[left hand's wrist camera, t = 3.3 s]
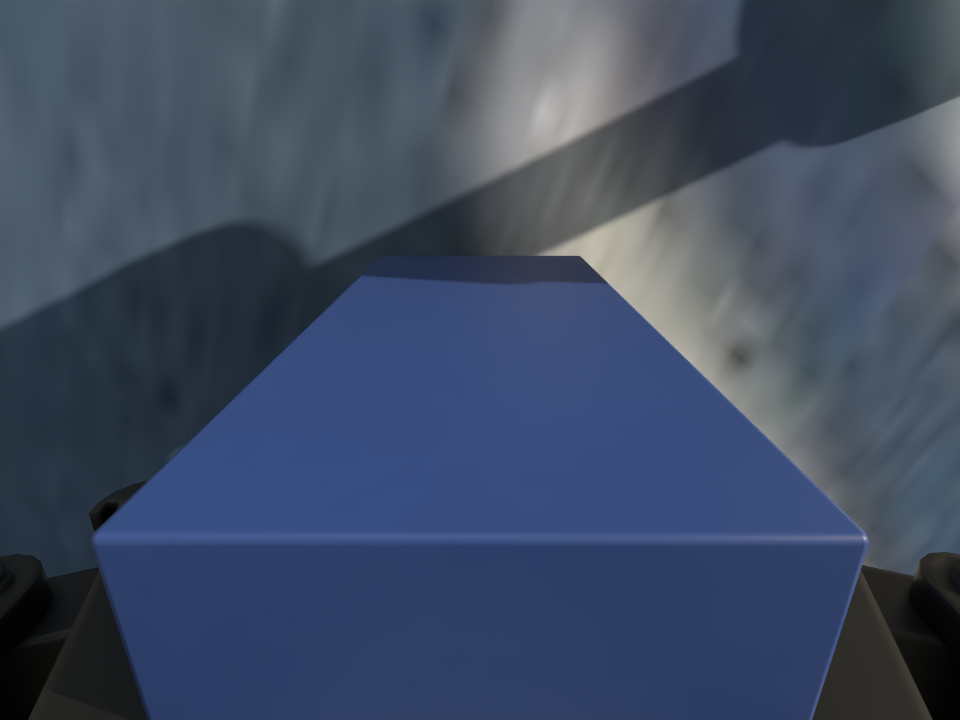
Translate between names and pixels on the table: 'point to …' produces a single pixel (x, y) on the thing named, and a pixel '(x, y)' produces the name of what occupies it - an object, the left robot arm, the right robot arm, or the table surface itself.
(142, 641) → the box
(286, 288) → the table surface
